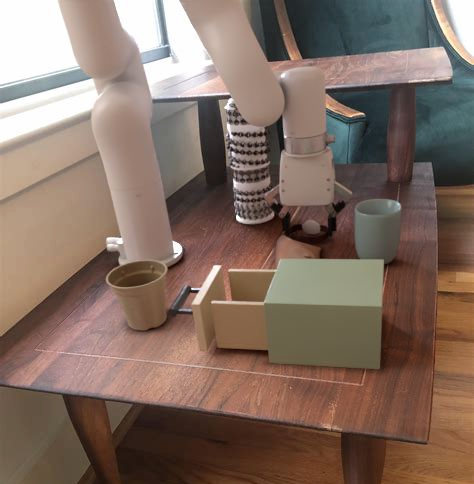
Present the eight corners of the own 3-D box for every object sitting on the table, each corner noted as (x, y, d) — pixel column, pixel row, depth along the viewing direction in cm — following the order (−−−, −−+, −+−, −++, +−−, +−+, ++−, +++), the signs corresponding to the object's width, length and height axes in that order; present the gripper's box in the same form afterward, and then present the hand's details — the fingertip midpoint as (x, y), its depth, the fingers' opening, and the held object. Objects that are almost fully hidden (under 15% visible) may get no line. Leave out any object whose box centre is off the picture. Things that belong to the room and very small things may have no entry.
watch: (331, 235, 107) (331, 218, 106) (325, 245, 104) (325, 227, 102) (294, 233, 110) (293, 216, 108) (287, 243, 107) (285, 225, 105)
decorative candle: (284, 215, 119) (276, 94, 106) (250, 228, 115) (237, 104, 102) (260, 205, 126) (249, 90, 113) (226, 217, 122) (211, 99, 109)
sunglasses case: (327, 294, 87) (304, 263, 85) (291, 315, 90) (267, 285, 87) (321, 246, 102) (301, 219, 100) (290, 265, 105) (270, 239, 103)
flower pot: (125, 307, 92) (113, 261, 87) (180, 303, 91) (171, 256, 87) (112, 339, 84) (99, 290, 79) (172, 334, 83) (162, 285, 79)
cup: (400, 270, 92) (403, 215, 87) (353, 270, 94) (353, 216, 89) (398, 250, 99) (401, 197, 93) (354, 251, 100) (354, 199, 95)
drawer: (168, 349, 78) (158, 303, 74) (192, 308, 88) (184, 264, 83) (294, 356, 74) (291, 307, 70) (305, 312, 83) (303, 266, 79)
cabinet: (269, 363, 74) (263, 302, 69) (284, 314, 85) (280, 258, 80) (379, 369, 71) (382, 306, 66) (381, 317, 81) (384, 259, 76)
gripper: (356, 135, 98) (356, 226, 107) (261, 139, 103) (269, 227, 112) (353, 147, 92) (353, 242, 101) (253, 151, 97) (262, 242, 106)
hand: (309, 233), depth 106 cm, fingers closed on watch, 7 cm apart
